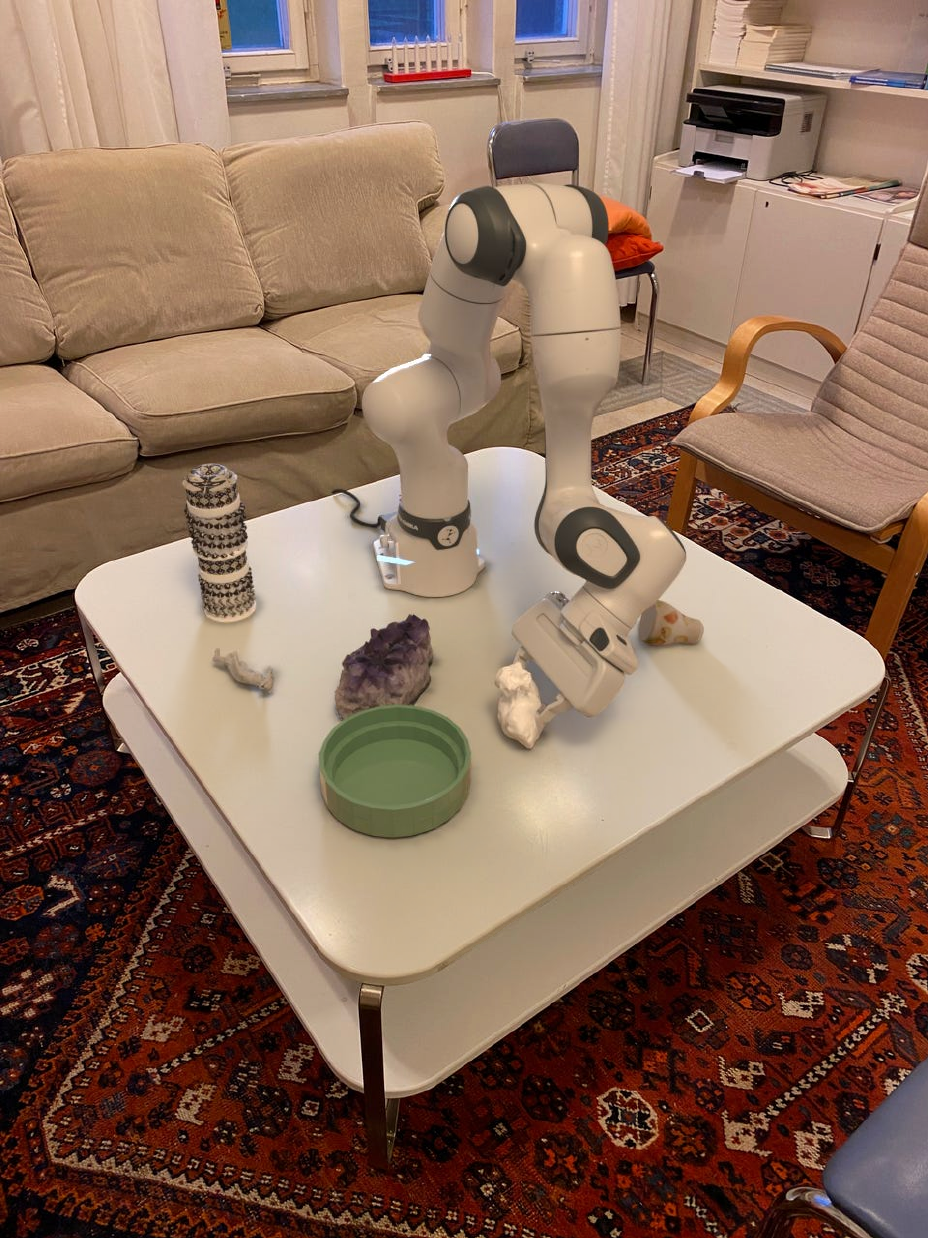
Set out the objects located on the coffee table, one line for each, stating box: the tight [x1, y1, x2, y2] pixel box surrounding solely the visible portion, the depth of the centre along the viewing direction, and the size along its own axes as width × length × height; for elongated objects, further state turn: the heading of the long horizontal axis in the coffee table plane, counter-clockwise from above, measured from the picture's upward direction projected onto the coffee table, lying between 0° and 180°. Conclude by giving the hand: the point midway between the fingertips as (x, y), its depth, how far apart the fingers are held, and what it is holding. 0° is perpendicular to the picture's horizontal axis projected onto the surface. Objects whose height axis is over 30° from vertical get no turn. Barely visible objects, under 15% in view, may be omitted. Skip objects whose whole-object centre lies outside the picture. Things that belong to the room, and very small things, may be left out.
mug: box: [638, 599, 705, 646], centre depth 149 cm, size 8×10×10 cm
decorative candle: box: [181, 463, 257, 624], centre depth 150 cm, size 9×9×25 cm
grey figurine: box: [211, 647, 275, 694], centre depth 140 cm, size 8×5×12 cm
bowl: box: [318, 704, 472, 838], centre depth 122 cm, size 19×19×6 cm
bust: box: [494, 662, 547, 750], centre depth 131 cm, size 12×8×11 cm
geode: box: [334, 613, 435, 721], centre depth 137 cm, size 20×12×10 cm, turn 160°
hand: (525, 698), depth 130 cm, fingers open, 7 cm apart
